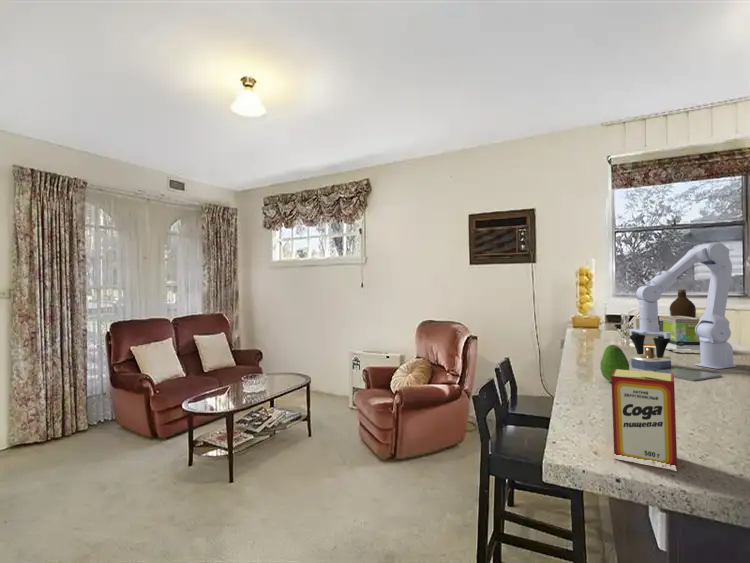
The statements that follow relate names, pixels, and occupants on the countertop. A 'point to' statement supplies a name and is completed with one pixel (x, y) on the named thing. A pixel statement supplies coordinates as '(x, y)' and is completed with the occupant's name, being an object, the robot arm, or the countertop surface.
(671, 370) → the coaster
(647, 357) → the lid
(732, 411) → the countertop surface
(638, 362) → the tin
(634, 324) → the supplement box
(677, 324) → the tea box
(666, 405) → the baking soda box
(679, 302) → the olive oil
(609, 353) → the avocado
